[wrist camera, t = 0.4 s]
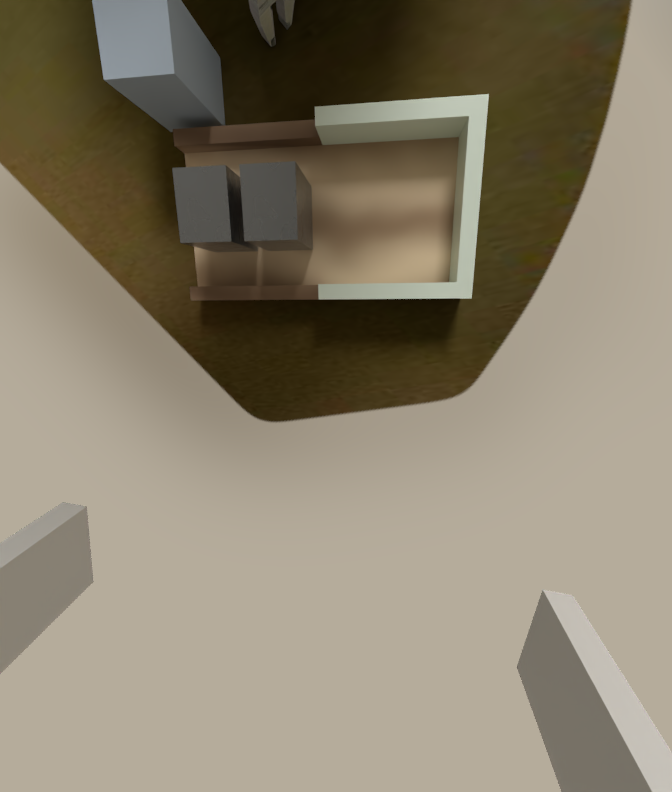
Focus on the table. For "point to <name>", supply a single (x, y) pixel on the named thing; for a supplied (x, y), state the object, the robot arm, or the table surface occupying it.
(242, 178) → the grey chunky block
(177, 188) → the grey squarish block
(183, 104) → the grey block
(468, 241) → the tray
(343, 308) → the table surface
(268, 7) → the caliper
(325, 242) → the slot board
